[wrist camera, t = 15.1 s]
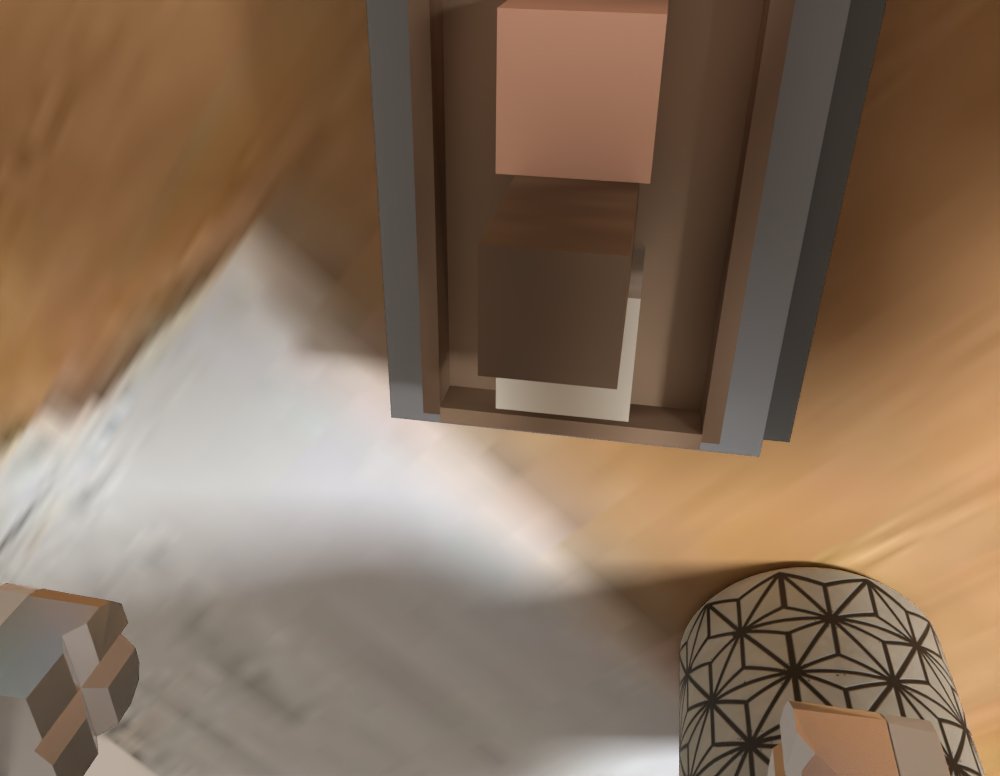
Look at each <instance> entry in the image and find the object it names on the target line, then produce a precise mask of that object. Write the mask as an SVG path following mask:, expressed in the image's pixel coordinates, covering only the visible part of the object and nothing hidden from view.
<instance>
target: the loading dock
mask: <svg viewBox="0 0 1000 776" xmlns="http://www.w3.org/2000/svg"><path fill="white" fill-rule="evenodd" d="M886 1H887V0H795V5H794V11H793V17H792V23H791V28H790V34H789V40H788V46H787V52H786V58H785V64H784V69H783V75H782V81H781V87H780V93H779V99H778V105H777V110H776V116H775V122H774V128H773V134H772V140H771V146H770V151H769V157H768V163H767V169H766V175H765V181H764V187H763V192H762V198H761V204H760V210H759V216H758V222H757V227H756V233H755V239H754V245H753V251H752V257H751V263H750V268H749V274H748V280H747V286H746V292H745V298H744V304H743V309H742V315H741V321H740V327H739V333H738V339H737V345H736V350H735V356H734V362H733V368H732V374H731V380H730V386H729V391H728V397H727V403H726V409H725V415H724V421H723V427H722V432H721V438H720V444H711V443H702V442H701V445H700V450H701V451H710V452H719V453H729V454H738V455H747V456H757V457H759V456H760V451H761V446H762V441H763V440H773V441H782V442H790V438H791V433H792V428H793V424H794V419H795V415H796V410H797V406H798V401H799V397H800V392H801V387H802V383H803V378H804V374H805V369H806V365H807V360H808V356H809V351H810V347H811V342H812V337H813V333H814V328H815V324H816V319H817V315H818V310H819V306H820V301H821V297H822V292H823V287H824V283H825V278H826V274H827V269H828V265H829V260H830V256H831V251H832V246H833V242H834V237H835V233H836V228H837V224H838V219H839V215H840V210H841V206H842V201H843V196H844V192H845V187H846V183H847V178H848V174H849V169H850V165H851V160H852V155H853V151H854V146H855V142H856V137H857V133H858V128H859V124H860V119H861V115H862V110H863V105H864V101H865V96H866V92H867V87H868V83H869V78H870V74H871V69H872V65H873V60H874V55H875V51H876V46H877V42H878V37H879V33H880V28H881V24H882V19H883V14H884V10H885V5H886ZM366 6H367V23H368V39H369V56H370V72H371V89H372V105H373V122H374V138H375V155H376V171H377V187H378V204H379V220H380V237H381V253H382V270H383V286H384V303H385V319H386V336H387V352H388V369H389V385H390V402H391V417H393V418H402V419H412V420H421V421H430V422H440V415H438V414H429V413H423V391H422V365H421V339H420V312H419V286H418V260H417V234H416V208H415V182H414V156H413V129H412V103H411V77H410V51H409V25H408V0H366ZM440 423H445V422H440ZM449 424H454V423H449ZM458 425H463V424H458ZM468 426H472V425H468ZM477 427H482V426H477ZM486 428H491V427H486ZM496 429H500V428H496ZM505 430H510V429H505ZM514 431H519V430H514ZM524 432H528V431H524ZM533 433H538V432H533ZM542 434H547V433H542ZM552 435H556V434H552ZM561 436H566V435H561ZM570 437H575V436H570ZM579 438H584V437H579ZM589 439H594V438H589ZM598 440H603V439H598ZM607 441H612V440H607ZM617 442H622V441H617ZM626 443H631V442H626ZM635 444H640V443H635ZM645 445H650V444H645ZM654 446H659V445H654ZM663 447H668V446H663ZM673 448H677V447H673ZM682 449H687V448H682ZM691 450H696V449H691Z"/></svg>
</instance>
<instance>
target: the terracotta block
mask: <svg viewBox="0 0 1000 776" xmlns="http://www.w3.org/2000/svg"><path fill="white" fill-rule="evenodd" d="M668 1H669V0H507V1H506V2H504V3H503V4H502V5H500V6H499V7H498V8H497V78H496V174H508V175H524V176H539V177H554V178H570V179H585V180H601V181H616V182H632V183H647V184H650V180H651V170H652V161H653V151H654V141H655V131H656V122H657V112H658V102H659V92H660V82H661V73H662V63H663V53H664V43H665V34H666V24H667V14H668Z"/></svg>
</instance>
